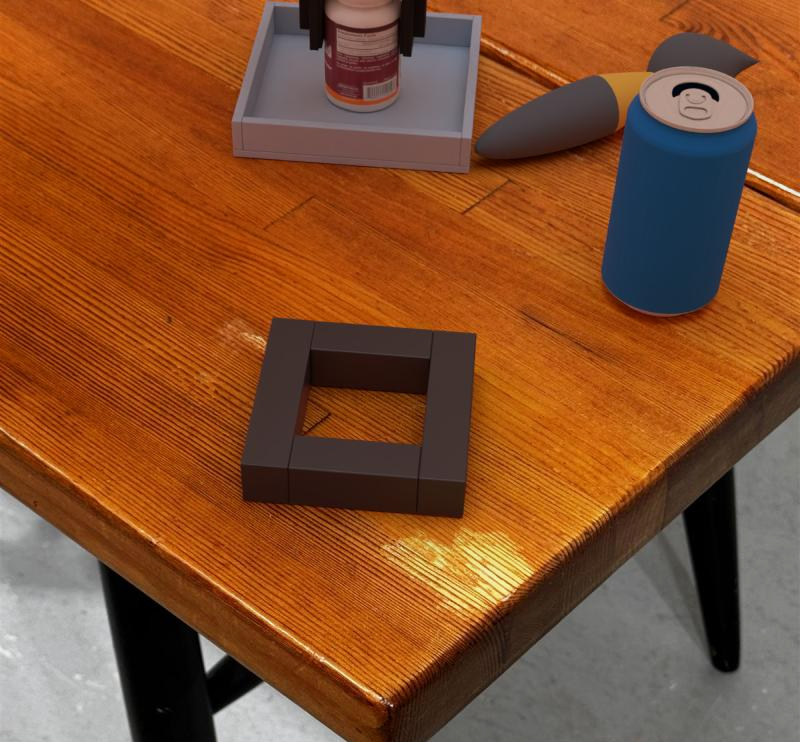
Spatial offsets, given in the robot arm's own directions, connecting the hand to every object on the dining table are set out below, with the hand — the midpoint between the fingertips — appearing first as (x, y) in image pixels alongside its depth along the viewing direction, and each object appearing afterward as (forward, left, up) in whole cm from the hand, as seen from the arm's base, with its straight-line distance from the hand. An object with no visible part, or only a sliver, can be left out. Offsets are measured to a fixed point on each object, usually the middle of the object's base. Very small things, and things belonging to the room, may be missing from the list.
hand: (362, 39), depth 89 cm
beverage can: (+18, -17, -4) cm, 25 cm away
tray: (0, 0, -4) cm, 4 cm away
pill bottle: (0, 0, -4) cm, 4 cm away
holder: (+3, -30, -4) cm, 30 cm away
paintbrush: (+16, -2, -4) cm, 17 cm away
